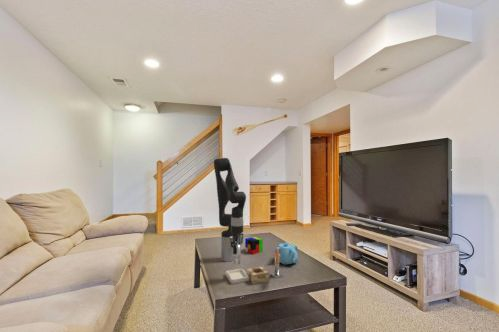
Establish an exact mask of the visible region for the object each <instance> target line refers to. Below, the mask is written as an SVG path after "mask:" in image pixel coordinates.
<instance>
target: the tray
mask: <svg viewBox="0 0 499 332" xmlns="http://www.w3.org/2000/svg"><path fill="white" fill-rule="evenodd" d="M225 277H226V279H228V281H229V282H230V284H231V285H235V284H240V283H241V282H242V283H247V282H251V281H250V277H249V276H248V274H247V271H245V270H244V269H243V268H237V269H231V270H226V271H225ZM246 281H247V282H246Z"/></svg>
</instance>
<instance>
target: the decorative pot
mask: <svg viewBox="0 0 499 332" xmlns="http://www.w3.org/2000/svg"><path fill="white" fill-rule="evenodd" d="M276 248H279V254H280V257H279V264H281V265H283V266H287V265H293V263H294V264H296V263H297V261H298V260H299V259H298V258H299V257H298V256H299V255H298V246H297V245H296V244H290V243H289V242H283V243H279V244H278V245H277V247H276ZM276 248H275V249H274V254H275V253H276ZM273 257H274V256H273ZM273 259H274V260H275V257H274V258H273Z"/></svg>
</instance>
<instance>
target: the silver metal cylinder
mask: <svg viewBox="0 0 499 332" xmlns="http://www.w3.org/2000/svg"><path fill="white" fill-rule="evenodd" d="M235 245H236V244H235ZM232 264H233V265H240V264H241V251H240V244H237V254H233V260H232Z"/></svg>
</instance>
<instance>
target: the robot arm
mask: <svg viewBox="0 0 499 332" xmlns="http://www.w3.org/2000/svg"><path fill="white" fill-rule="evenodd" d="M213 168H214V169H213V170H214V174H215V181H216V182H215V183H216V193H217V200H218V203H217V204H218V222H219V225H220V226H221V227H228V228H227V229H226V230H223V231H221V236H220V237H221V239H220V241H221V243H220V244H221V247H220V249H221V251H220V252H221V253H220V255H221V258H220V259H221V261H222V262H226V263H227V262H233V254H237V244H240V252H241V248H242V247H241V246H242V244H243V240H244V233H243V232H244V208H245V204H246V201H247V196H246V195H247V194H246V193H245V192H244V191H239V189H240V187H239V185H238V183H237V180H236V178H235V173H234V171H233V168H232V164H231V162H230V159H229V158H228V157H222V158H215V159H214V161H213ZM226 171H227V174H226V177H225V180H224V178H223V177H222V175H221V172H226ZM229 202H230V203H231V204H237V205H236V206H234V207H232V208H231V213H226V207H227V205H228V203H229ZM235 244H236V245H235Z"/></svg>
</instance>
